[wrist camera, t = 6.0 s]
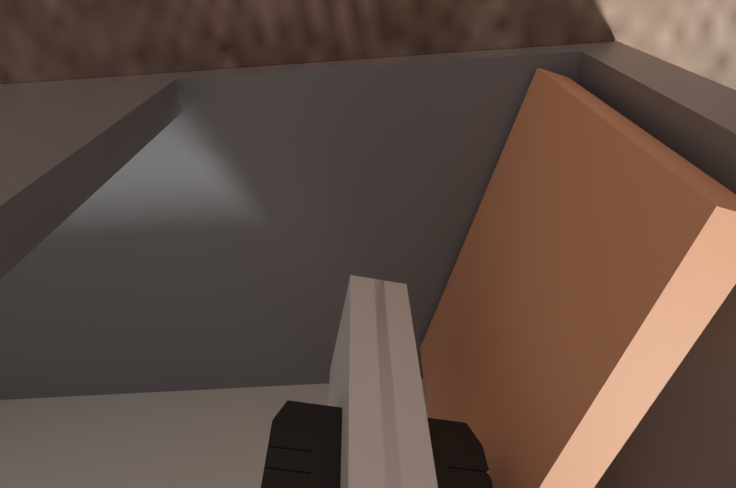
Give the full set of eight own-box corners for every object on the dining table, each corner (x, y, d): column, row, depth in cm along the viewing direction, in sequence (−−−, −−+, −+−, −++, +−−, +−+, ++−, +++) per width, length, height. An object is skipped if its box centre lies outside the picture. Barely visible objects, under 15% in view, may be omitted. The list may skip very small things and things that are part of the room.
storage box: (616, 40, 14) (955, 181, 6) (573, 378, 20) (725, 706, 11) (-367, 110, 15) (-1245, 316, 7) (-161, 414, 21) (-528, 743, 12)
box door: (537, 67, 14) (716, 206, 7) (568, 77, 14) (777, 223, 7) (420, 348, 18) (453, 623, 11) (444, 354, 18) (493, 631, 11)
